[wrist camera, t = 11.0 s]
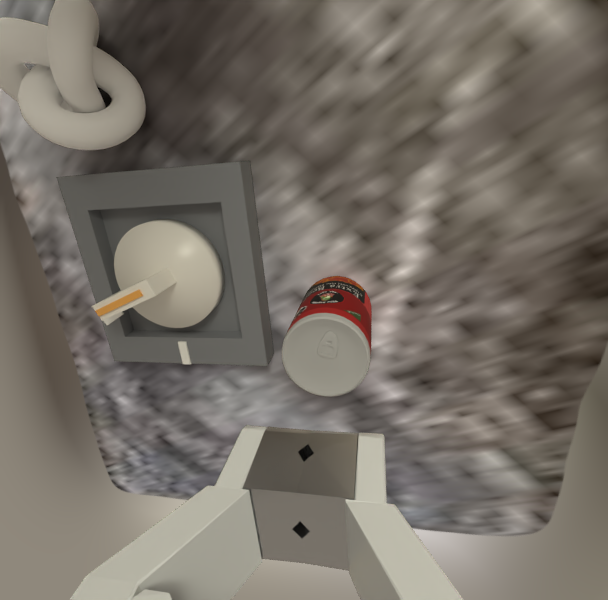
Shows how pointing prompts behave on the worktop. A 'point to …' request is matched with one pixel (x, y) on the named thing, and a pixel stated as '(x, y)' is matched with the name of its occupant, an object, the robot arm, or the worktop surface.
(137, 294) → the dial
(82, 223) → the panel
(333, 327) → the canned food
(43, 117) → the white decorative knot
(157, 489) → the worktop surface
